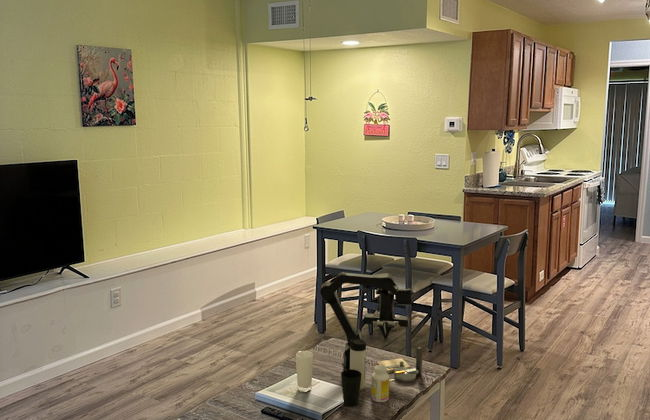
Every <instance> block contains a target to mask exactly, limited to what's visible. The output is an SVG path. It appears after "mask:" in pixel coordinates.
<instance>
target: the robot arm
mask: <svg viewBox="0 0 650 420" xmlns="http://www.w3.org/2000/svg"><path fill="white" fill-rule="evenodd" d="M344 284H350V285H351V284H352V285H362V286H370V287H375V288H377V289H376V290H375V295H379V304H377V313H379V316H375V313H365V314H364V315H363V318H362V319H363V325H372V324H373V323H374V322H376V323H377V324H376V327H378V328H379V329H380V331H381V333H382V336H383V338H384V340H386V341H387V340H388V337H389V335H390V332H391V330H392V329H394V328H395V325H396V324H398V326H399V327H401V328H408V327H409V323H410V318H409V316H405V315H399V317H398V318H396V317H394V316H395V310H394V309H395V308H394V302H395V303H396V304H397V305H398V306H412V300H413V299H412V288H399V287H398V285H397V284H396V283H395V279H394V276H393V275H392V274H390V273H387V272H385V273H379V274H373V275H372V274H363V273H352V272H345V271H341V272H339V274H337V275H336V276H334V277H333V278H332V279H330V280H329V281H325V282H324V283H322V285H321V288H320V292H319V293H320V296H321V298H322V299H323V300H324V301H325V302H326V303H327V304H328V305H329V306H330V307H331V309H332V311H333V312H334V315H335V316H336V318H337V320H338V322H339V325H340V326H341V328H342V329H343V331H344V333H345V337H346V341H347V342H346V343H345V347H344V351H343V362H342V363H341V365H342V366H343V367H344V369H345V370H348V369H350V345H351V343H350V341H351V340H352V339H361V340H364V337H365V336H364V335H363V334H362V332H361V329H355V327H354V326H353V324H352V322H351V320H350V318H349V316H348V314H347V313H346V310H345V309H344V307H343V305H342V303H341V302H340V299H339V295H338V292H337V290H339V289H340V288H341V287H342V286H343V285H344ZM394 297H395V298H394ZM386 323H387V327H386Z"/></svg>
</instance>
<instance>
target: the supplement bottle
mask: <svg viewBox="0 0 650 420" xmlns="http://www.w3.org/2000/svg"><path fill="white" fill-rule="evenodd" d="M373 370H374V372H372V374H371V391H370V392H371V394H370V396H371V399H372V401H374V402H376V403H385V402H387V401H388V400H389V398H390V381H389V380H390V375H389V374H390V373H387V372H386V371H387V367H386V366H384V365H377V364H376V365H375V366H374V369H373Z"/></svg>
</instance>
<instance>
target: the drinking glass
mask: <svg viewBox="0 0 650 420" xmlns="http://www.w3.org/2000/svg"><path fill="white" fill-rule="evenodd" d="M295 368H296V380H297V387H298V386H299V387H303V388H308V387H310V386H311V387H312V379H313V372H314V354H313V352H312V351H308V350H300V351H297V352H296V355H295Z"/></svg>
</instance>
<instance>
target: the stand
mask: <svg viewBox="0 0 650 420" xmlns="http://www.w3.org/2000/svg"><path fill="white" fill-rule="evenodd" d="M376 365H384V366H386V367H387V371H386V372H387V373H388V374H390V373H394V370H395V369H397V368H400V367H407V368H411V369H412V367H411V365H410V364H409V363H408V362H407V361H405V360H404V359H403V358H402V357H401V358H393V359H388V360H387V359H385V360H379V361H376ZM389 372H390V373H389Z"/></svg>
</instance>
